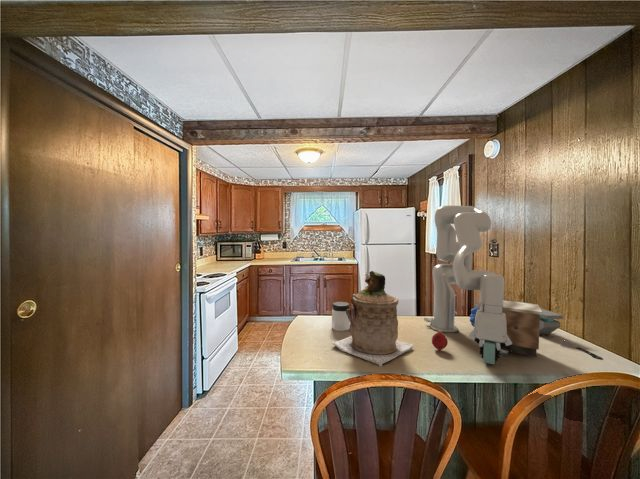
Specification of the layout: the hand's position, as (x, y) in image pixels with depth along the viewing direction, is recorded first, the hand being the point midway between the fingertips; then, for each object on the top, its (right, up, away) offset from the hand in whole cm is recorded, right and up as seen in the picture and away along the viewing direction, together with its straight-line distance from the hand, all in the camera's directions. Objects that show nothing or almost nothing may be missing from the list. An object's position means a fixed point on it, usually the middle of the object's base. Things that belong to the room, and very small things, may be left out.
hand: (489, 357), depth 106 cm
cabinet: (+14, -2, +10) cm, 17 cm away
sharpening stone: (+42, -1, +36) cm, 55 cm away
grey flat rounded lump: (+10, -2, +9) cm, 13 cm away
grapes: (+12, -1, +31) cm, 33 cm away
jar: (-52, 0, +35) cm, 62 cm away
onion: (-14, -2, +11) cm, 18 cm away
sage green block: (+3, -1, +5) cm, 6 cm away
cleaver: (+43, -2, +19) cm, 47 cm away
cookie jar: (-40, -1, +12) cm, 42 cm away
